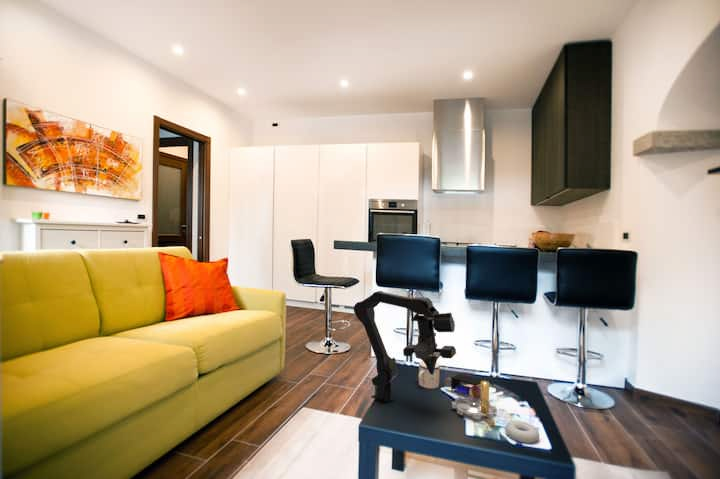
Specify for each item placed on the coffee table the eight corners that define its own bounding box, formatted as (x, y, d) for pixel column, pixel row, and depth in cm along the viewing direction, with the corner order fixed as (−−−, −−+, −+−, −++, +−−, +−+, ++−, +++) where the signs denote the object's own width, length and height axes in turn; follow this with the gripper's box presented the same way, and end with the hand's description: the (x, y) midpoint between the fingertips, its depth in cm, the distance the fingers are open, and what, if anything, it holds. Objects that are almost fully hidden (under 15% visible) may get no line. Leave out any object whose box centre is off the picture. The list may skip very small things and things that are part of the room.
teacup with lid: (425, 379, 164) (426, 353, 164) (443, 385, 157) (444, 358, 158) (410, 386, 155) (410, 359, 155) (428, 392, 149) (429, 364, 149)
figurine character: (444, 394, 151) (477, 402, 140) (442, 375, 152) (475, 382, 141) (453, 390, 156) (485, 398, 145) (451, 372, 157) (484, 378, 146)
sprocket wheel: (453, 416, 126) (454, 382, 126) (450, 398, 141) (451, 367, 141) (500, 421, 123) (501, 386, 123) (492, 402, 138) (493, 371, 139)
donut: (502, 438, 115) (536, 448, 110) (502, 427, 115) (536, 437, 110) (508, 426, 123) (541, 435, 118) (508, 416, 124) (541, 424, 118)
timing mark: (485, 422, 125) (485, 419, 125) (489, 421, 126) (489, 418, 126) (490, 425, 123) (490, 422, 123) (494, 424, 123) (494, 421, 123)
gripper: (394, 337, 132) (400, 380, 132) (443, 338, 122) (449, 385, 122) (406, 329, 142) (412, 369, 141) (453, 330, 132) (459, 373, 132)
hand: (432, 374), depth 134 cm, fingers closed
